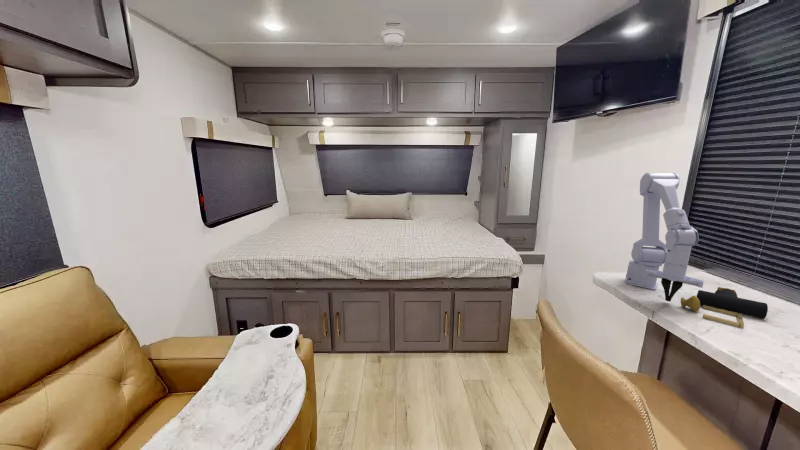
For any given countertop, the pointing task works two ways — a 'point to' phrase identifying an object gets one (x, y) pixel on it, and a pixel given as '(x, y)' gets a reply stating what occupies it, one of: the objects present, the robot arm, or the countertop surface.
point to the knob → (691, 303)
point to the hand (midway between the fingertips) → (668, 300)
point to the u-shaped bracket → (737, 324)
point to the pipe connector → (732, 302)
